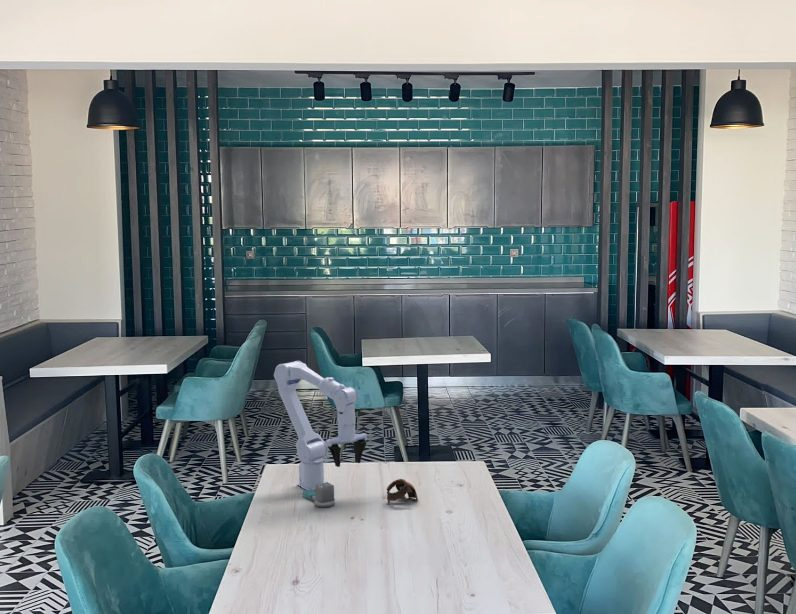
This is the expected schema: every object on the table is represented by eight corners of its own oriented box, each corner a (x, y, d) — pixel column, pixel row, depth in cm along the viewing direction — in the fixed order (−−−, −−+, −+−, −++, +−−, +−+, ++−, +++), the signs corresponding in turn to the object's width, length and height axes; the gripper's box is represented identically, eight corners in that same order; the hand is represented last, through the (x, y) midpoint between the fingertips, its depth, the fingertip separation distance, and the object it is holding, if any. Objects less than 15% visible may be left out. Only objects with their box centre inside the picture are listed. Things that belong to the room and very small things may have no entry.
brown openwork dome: (422, 506, 267) (411, 486, 264) (396, 519, 267) (384, 500, 264) (416, 486, 278) (405, 467, 275) (390, 499, 278) (379, 480, 275)
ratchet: (298, 496, 278) (297, 484, 278) (315, 493, 281) (315, 481, 281) (320, 509, 264) (319, 496, 264) (338, 505, 268) (337, 493, 267)
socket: (315, 499, 269) (315, 484, 269) (327, 497, 271) (327, 482, 271) (321, 503, 265) (321, 487, 265) (334, 500, 268) (333, 485, 267)
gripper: (332, 429, 271) (334, 470, 272) (371, 423, 279) (372, 463, 280) (322, 425, 277) (324, 465, 278) (361, 419, 285) (362, 458, 286)
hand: (347, 464), depth 279 cm, fingers open, 7 cm apart
